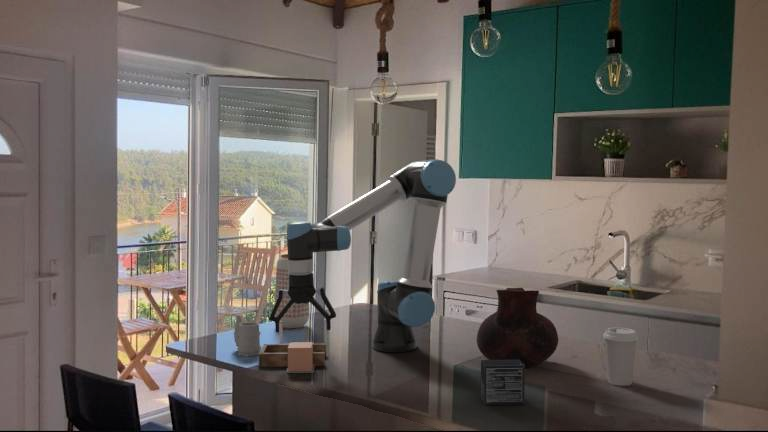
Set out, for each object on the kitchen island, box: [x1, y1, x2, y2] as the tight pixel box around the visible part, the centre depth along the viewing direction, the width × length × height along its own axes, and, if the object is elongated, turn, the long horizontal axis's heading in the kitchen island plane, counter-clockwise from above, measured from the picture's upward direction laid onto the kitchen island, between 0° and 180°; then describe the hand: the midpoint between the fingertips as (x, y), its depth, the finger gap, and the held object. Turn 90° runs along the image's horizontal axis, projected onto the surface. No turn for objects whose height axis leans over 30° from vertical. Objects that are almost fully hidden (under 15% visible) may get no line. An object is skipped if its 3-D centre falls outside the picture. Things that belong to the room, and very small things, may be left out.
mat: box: [285, 364, 316, 374], centre depth 211 cm, size 8×7×1 cm
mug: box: [233, 314, 262, 357], centre depth 231 cm, size 8×12×12 cm, turn 47°
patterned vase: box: [274, 253, 310, 330], centre depth 269 cm, size 13×13×28 cm
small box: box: [480, 359, 526, 406], centre depth 181 cm, size 11×6×10 cm, turn 92°
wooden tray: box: [258, 343, 327, 368], centre depth 221 cm, size 20×12×4 cm, turn 92°
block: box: [287, 341, 314, 371], centre depth 211 cm, size 7×7×7 cm
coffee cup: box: [602, 327, 639, 387], centre depth 198 cm, size 10×10×15 cm
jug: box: [476, 287, 559, 369], centre depth 216 cm, size 25×25×25 cm
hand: (303, 341), depth 212 cm, fingers open, 13 cm apart
